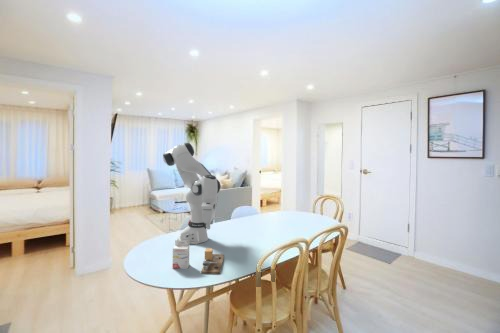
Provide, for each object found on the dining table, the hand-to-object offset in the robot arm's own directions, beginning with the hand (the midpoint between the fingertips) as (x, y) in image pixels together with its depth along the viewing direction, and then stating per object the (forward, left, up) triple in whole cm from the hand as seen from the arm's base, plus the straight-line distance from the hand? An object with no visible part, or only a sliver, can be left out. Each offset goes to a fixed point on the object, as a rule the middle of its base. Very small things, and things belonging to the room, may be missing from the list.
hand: (210, 226), depth 144 cm
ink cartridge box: (-15, -5, -22) cm, 28 cm away
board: (+3, -1, -22) cm, 22 cm away
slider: (+1, -1, -21) cm, 21 cm away
